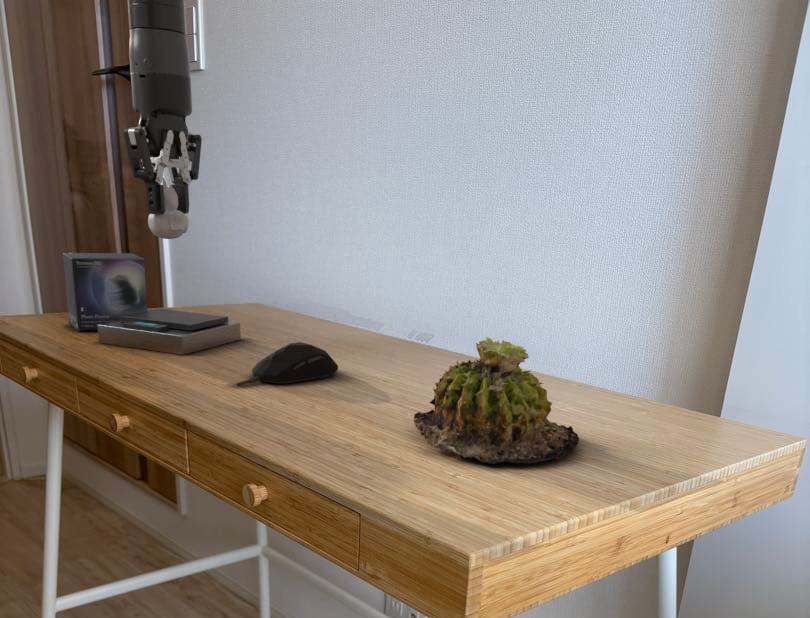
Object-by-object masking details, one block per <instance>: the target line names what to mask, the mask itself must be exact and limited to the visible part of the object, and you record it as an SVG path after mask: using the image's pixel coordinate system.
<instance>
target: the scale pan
mask: <svg viewBox="0 0 810 618" xmlns="http://www.w3.org/2000/svg"><path fill="white" fill-rule="evenodd" d="M120 321H122V322H130V321H136V322H144V323H151V324H159V325H167V326H168V328H175V329H183V330H191V331H192V330H196V329H201V328H205V327H210V326H214V325H218V324H223V323H227V322H228V321H229V316H225V315H217V314H208V313H199V312H193V311H185V310H184V311H183V310H182V311H181V310H177V309H168V308H155V309H150V310H147V311H143V312H138V313H132V314H127V315H121V316H120Z"/></svg>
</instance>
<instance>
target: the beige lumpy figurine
mask: <svg viewBox="0 0 810 618" xmlns="http://www.w3.org/2000/svg"><path fill="white" fill-rule="evenodd" d="M160 185H163V187H164V204H165V213H164V214H150V213H149V215H148V218H147V223H148V227H149V230H150V231H151V233H152V234H153V235H154V236H155V237H158V238H160V239H164V240H174V239H178V238H180V237H181V236H183V234H186V233H187V232H188V231H189V218H188V215H187V214H184V213H183V212H181V211H179V210H177V207H178V196H177V193H176V192H175V190H174V189H173V187H172V185H173V184H171V183H169V184H168V185H167V183H166V180H165V177H164V176H163V180H162V183H161V184H160Z"/></svg>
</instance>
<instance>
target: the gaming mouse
mask: <svg viewBox="0 0 810 618" xmlns="http://www.w3.org/2000/svg"><path fill="white" fill-rule="evenodd" d="M338 370H339V365H338V364H337V362H336V361H335V360H334V359H333V357H332V356H331V355H329V353H328V352H327V351H326V350H324V349H322V348H319V347H317V346H315V345H313V344H309V343H305V342H301V341H298V342H290V343H288V344H286V345H284V346H282V347H280V348H278V349H277V350H275V351H274V352H272V353H270V354H269V355H267V356H265V357H264V358H262V359H261V360H260V361H258V362H257V363H256V364H255V366H253V368H252V370H251V377H249V378H248V379H246V380H243V381H239V382H236V386H237V387H240V386H243V385H247V384H254V383H256V382H259V381H261V382H264V383H272V384H290V383H298V382H305V381H309V380H315V379H323V378H327V377H329V376H332V375H334V374H336V373H337V371H338Z"/></svg>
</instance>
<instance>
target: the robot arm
mask: <svg viewBox="0 0 810 618" xmlns="http://www.w3.org/2000/svg"><path fill="white" fill-rule="evenodd" d="M127 12H128V26H129V27H128V28H129V43H128V50H129V51H128V53H129V54H128V55H129V57H128V58H129V71H130V83H131V97H132V108H133V110H134V111H135V112H136V113H138V114H139V122H138V126H136V127H125V128H124V129H123V137H124V141H125V147H126V150H127V155H128V159H129V164H130V168H131V172H132V176H133V177H134V178H136V179H140V180H141V181H142V182H143V183H144V185H145V192H146V193H145V195H146V207H147V211H148V213H149V215H150V214H164V213H165V204H164V187H163V185H162V183H163V177H164V173H165V169H166V168H167V169H168V172H169V177H170V180H171V183H172V184H171V185H172V187H173V189H174V190H175V192H176V193H177V196H178V207H177V210H179V211H181V212H183V213H184V214H185V215H187V214H189V212H190V192H189V185H191V183H192V182H193V181H197V180H198V179H199V174H200V165H201V164H200V161H201V151H202V142H203V141H202V140H203V139H202V135H200V134H193V133H191V132H189V128H188V125H187V122H186V121H187V120H186V119H187V117H190V116H191V114H192V113H193V99H192V80H191V79H192V78H191V61H190V60H191V59H190V50H189V45H188V44H189V43H188V38H187V37H188V36H187V18H186V17H187V16H186V1H185V0H127ZM140 161H141V163H142V167H141V164H140ZM190 164H191V165H190ZM189 166H190V169H189ZM153 167H154V168H153ZM160 184H161V185H160Z"/></svg>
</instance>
